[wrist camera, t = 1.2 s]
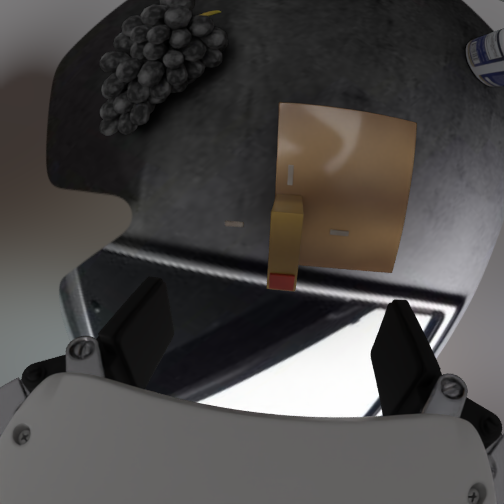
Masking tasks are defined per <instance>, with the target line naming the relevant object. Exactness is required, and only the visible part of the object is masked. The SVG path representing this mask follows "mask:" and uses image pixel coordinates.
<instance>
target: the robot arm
mask: <svg viewBox="0 0 504 504" xmlns="http://www.w3.org/2000/svg"><path fill="white" fill-rule="evenodd" d="M98 335H99V336H98V338H97V339H95V338H93V337H91V336H81V337H78V338H75V339H74V340H72V341H71V342H70V343H69V344H68V346H67V348H66V355H62V356H59V357H55V358H52V359H48V360H45V361H41V362H37V363H34V364H31V365H30V366H28V367H27V368H26V369H25V370H24V372H23V374H22V379H21V380H20V379H19V378H16V379H14V380H13V381H11V382H9V383H7V384H5V385H4V386H2V387H0V504H504V434H503V435H502V433H501V432H502V424H501V421H500V419H499V418H498V417H497V416H496V415H495V414H494V413H492V412H490V411H489V410H487V409H485V408H484V407H482V406H480V405H478V404H477V403H475V402H473V401H472V400H470V399H468V398H467V392H468V390H467V386H466V384H465V382H464V381H463V380H462V379H461V378H460V377H458V376H457V375H454V374H443V375H442V374H441V371H440V367H439V365H438V362H437V360H436V358H435V355H434V353H433V351H432V349H431V347H430V345H429V343H428V340H427V338H426V336H425V334H424V332H423V330H422V328H421V326H420V324H419V322H418V320H417V318H416V316H415V314H414V312H413V311H412V309H411V307H410V305H409V303H408V301H407V300H393V301H392V303H389V304H388V306H387V309H386V312H385V315H384V318H383V321H382V323H381V326H380V329H379V332H378V334H377V337H376V339H375V342H374V345H373V347H372V350H371V361H372V365H373V369H374V374H375V378H376V383H377V388H378V392H379V397H380V402H381V408H382V413H383V416H376V417H303V416H287V415H275V414H265V413H257V412H249V411H242V410H235V409H229V408H223V407H217V406H212V405H206V404H201V403H196V402H192V401H187V400H183V399H179V398H174V397H170V396H167V395H163V394H159V393H155V392H152V391H148V390H145V388H146V386H147V384H148V382H149V380H150V378H151V377H152V375H153V373H154V371H155V369H156V367H157V365H158V364H159V362H160V360H161V358H162V356H163V355H164V353H165V351H166V349H167V347H168V345H169V344H170V342H171V340H172V338H173V336H174V327H173V322H172V316H171V311H170V305H169V299H168V292H167V286H166V283H165V282H163V280H162V279H161V278H156V277H148V278H147V279H146V280H145V281H144V282H143V283H142V284H141V285H140V286H139V287H138V288H137V290H136V291H135V292H134V293H133V294H132V295H131V296H130V297H129V299H128V300H127V301H126V302H125V303H124V304H123V305H122V306H121V308H120V309H119V310H118V311H117V312H116V313H115V315H114V316H113V317H112V318H111V319H110V320H109V322H108V323H107V324H106V325H105V326H104V327H103V329H102V330H101V331H100V332H99V333H98Z"/></svg>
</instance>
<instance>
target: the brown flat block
mask: <svg viewBox="0 0 504 504" xmlns="http://www.w3.org/2000/svg"><path fill="white" fill-rule="evenodd" d="M416 129H417V123H415V122H411V121H407V120H403V119H399V118H395V117H390V116H385V115H380V114H375V113H370V112H364V111H358V110H352V109H345V108H338V107H330V106H321V105H311V104H299V103H284V102H279V117H278V144H277V167H276V188H275V198H276V195H277V194H286V195H298V196H302V202H303V213H304V217H303V228H302V238H301V247H300V256H299V265H303V266H315V267H326V268H338V269H349V270H361V271H374V272H386V273H392V271H393V267H394V263H395V260H396V256H397V252H398V247H399V243H400V239H401V234H402V230H403V225H404V220H405V215H406V210H407V204H408V198H409V192H410V186H411V179H412V171H413V163H414V154H415V143H416ZM225 226H235V227H244V222H236V221H225Z"/></svg>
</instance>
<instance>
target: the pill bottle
mask: <svg viewBox="0 0 504 504" xmlns="http://www.w3.org/2000/svg"><path fill="white" fill-rule="evenodd" d="M466 57H467V61H468V64H469V66H470V68H471V70H472V71H473V73H474V74H475V75H476V77H477V78H478V79H479V80H480V81H481V82H483V83H484V84H486V85H488V86H492V87H497V86H504V29H501V30H498V31H495V32H492V33H489V34H487V35H484V36H481V37H479V38H476V39H474V40H471V41H470V42H469V43H468V44H467V46H466Z"/></svg>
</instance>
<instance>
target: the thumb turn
mask: <svg viewBox="0 0 504 504" xmlns="http://www.w3.org/2000/svg"><path fill="white" fill-rule="evenodd" d="M303 217H304V213H303V202H302V196H298V195H286V194H277V195H276V198H275V201H274V204H273V207H272V211H271V222H270V241H269V258H268V275H267V289H275V290H286V291H295V290H296V282H297V274H298V265H299V256H300V247H301V238H302V228H303Z"/></svg>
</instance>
